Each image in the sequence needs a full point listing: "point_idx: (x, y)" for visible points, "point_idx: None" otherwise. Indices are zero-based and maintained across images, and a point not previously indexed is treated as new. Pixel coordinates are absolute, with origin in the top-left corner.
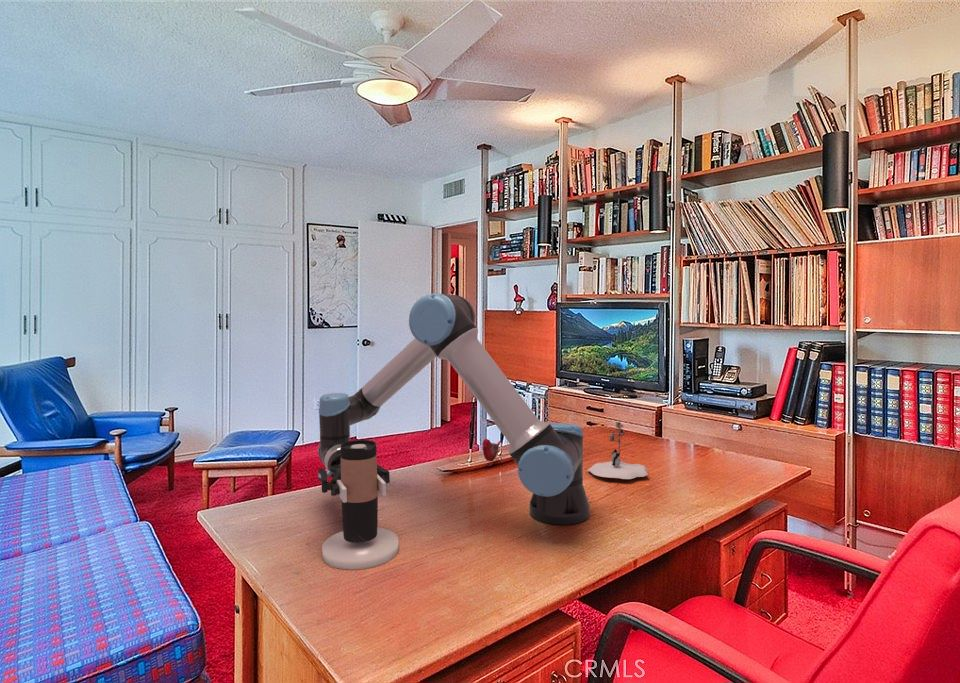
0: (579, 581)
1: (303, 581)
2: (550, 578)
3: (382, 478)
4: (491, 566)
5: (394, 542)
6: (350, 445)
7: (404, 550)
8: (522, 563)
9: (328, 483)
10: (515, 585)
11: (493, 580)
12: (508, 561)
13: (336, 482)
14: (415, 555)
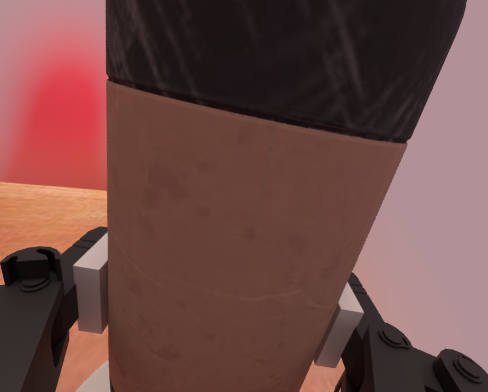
0: (27, 186)
1: (341, 368)
2: (37, 198)
3: (77, 255)
4: (44, 239)
5: (105, 373)
6: (365, 18)
7: (79, 382)
8: (5, 224)
9: (416, 352)
10: (81, 209)
11: (86, 222)
12: (8, 235)
13: (363, 344)
14: (87, 338)
